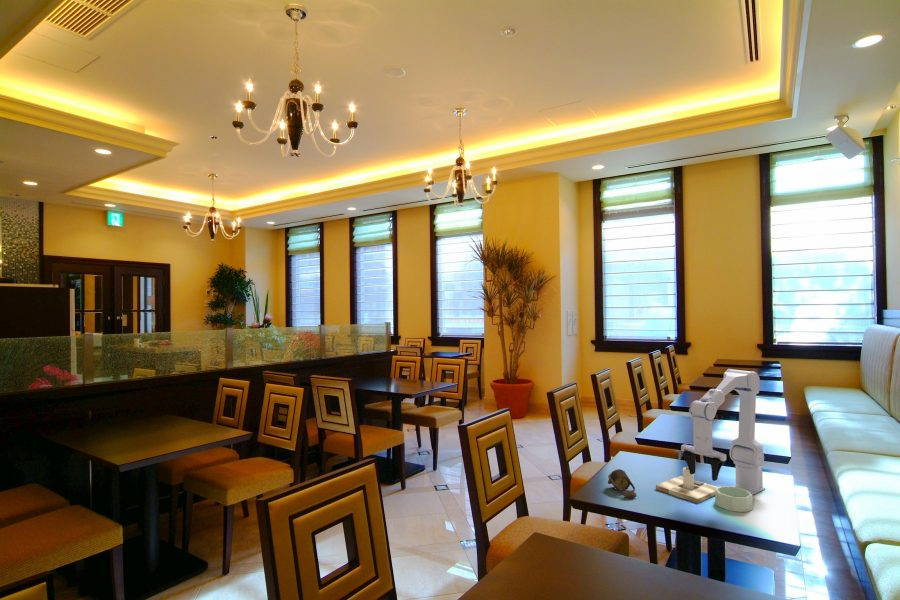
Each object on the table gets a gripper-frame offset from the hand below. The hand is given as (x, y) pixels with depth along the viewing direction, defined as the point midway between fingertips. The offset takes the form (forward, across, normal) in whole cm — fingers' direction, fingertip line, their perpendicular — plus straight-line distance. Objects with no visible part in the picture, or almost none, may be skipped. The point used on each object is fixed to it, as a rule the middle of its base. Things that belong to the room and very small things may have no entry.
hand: (703, 476), depth 171 cm
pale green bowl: (+10, +6, +8) cm, 14 cm away
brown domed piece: (+10, -24, -12) cm, 29 cm away
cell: (+10, -10, +9) cm, 17 cm away
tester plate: (+10, -10, +9) cm, 17 cm away
